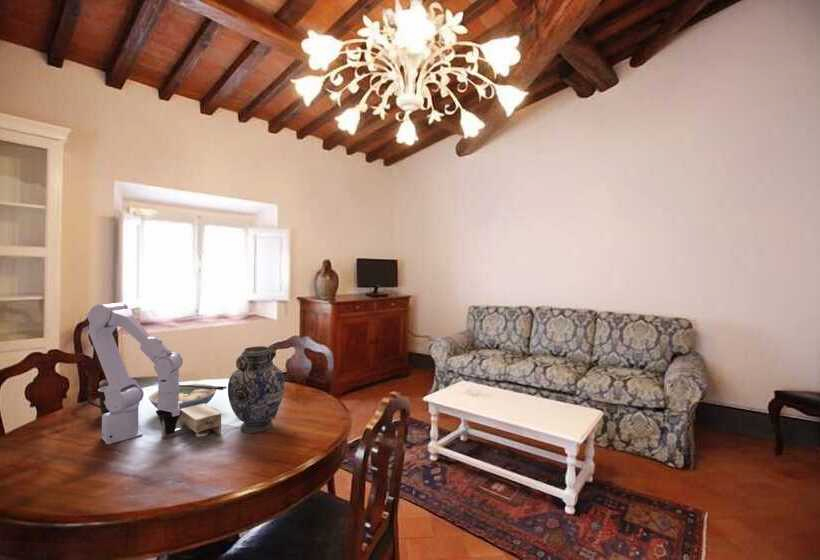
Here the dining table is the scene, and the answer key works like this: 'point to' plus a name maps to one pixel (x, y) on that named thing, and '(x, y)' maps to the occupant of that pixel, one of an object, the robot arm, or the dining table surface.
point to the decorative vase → (256, 388)
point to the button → (202, 433)
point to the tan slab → (201, 418)
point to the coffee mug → (102, 400)
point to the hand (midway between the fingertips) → (168, 432)
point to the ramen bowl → (191, 395)
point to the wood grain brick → (177, 431)
